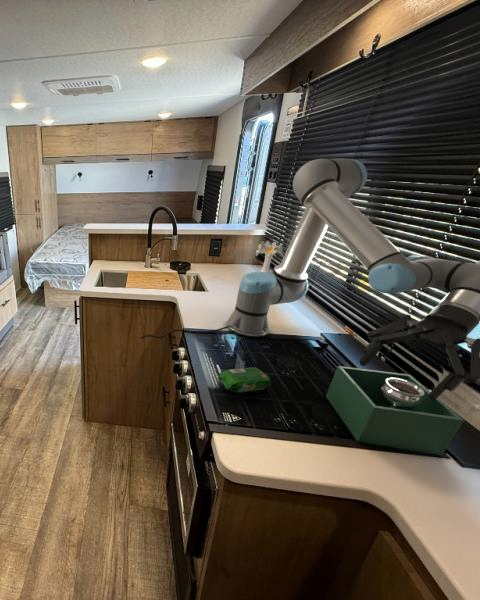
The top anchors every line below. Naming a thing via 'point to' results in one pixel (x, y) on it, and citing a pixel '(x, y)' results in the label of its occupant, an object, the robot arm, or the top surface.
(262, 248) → the flower vase
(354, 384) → the open green storage bin
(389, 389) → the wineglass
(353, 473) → the top surface
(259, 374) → the snack package
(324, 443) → the top surface
